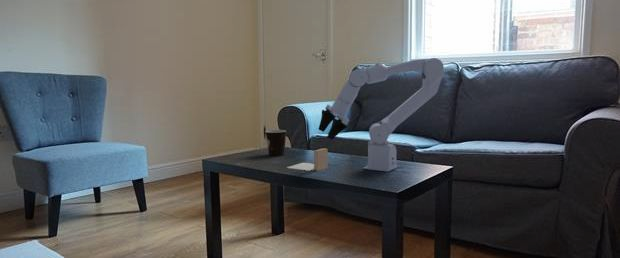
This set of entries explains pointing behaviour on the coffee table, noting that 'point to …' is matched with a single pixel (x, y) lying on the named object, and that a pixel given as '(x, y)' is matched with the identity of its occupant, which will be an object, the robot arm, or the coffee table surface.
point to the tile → (320, 159)
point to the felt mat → (303, 166)
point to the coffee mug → (276, 142)
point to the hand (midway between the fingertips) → (325, 134)
